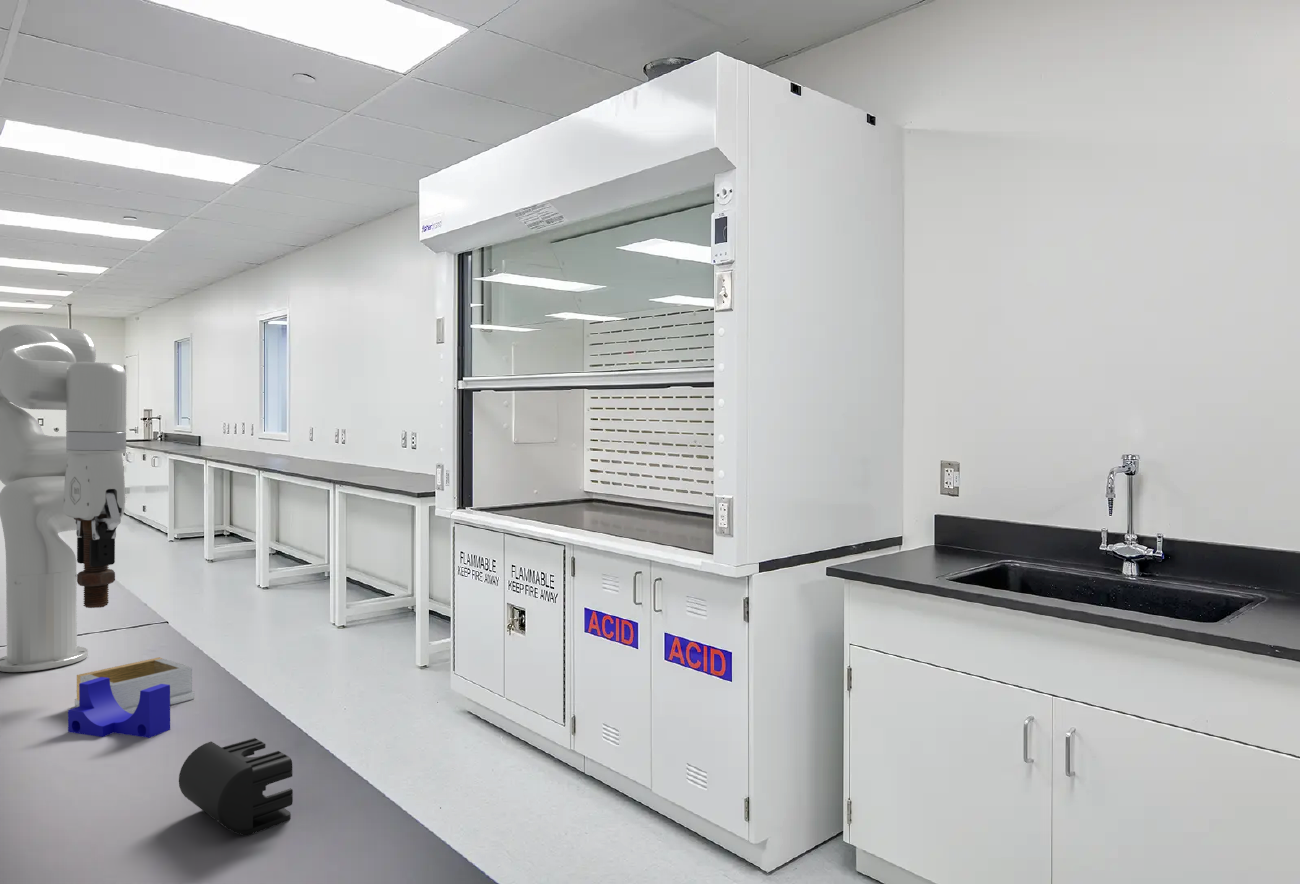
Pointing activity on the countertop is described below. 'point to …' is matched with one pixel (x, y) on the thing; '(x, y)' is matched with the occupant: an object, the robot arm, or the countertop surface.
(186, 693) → the shallow open tray
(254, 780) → the end cap
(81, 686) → the cable clip
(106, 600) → the bolt
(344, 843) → the countertop surface
